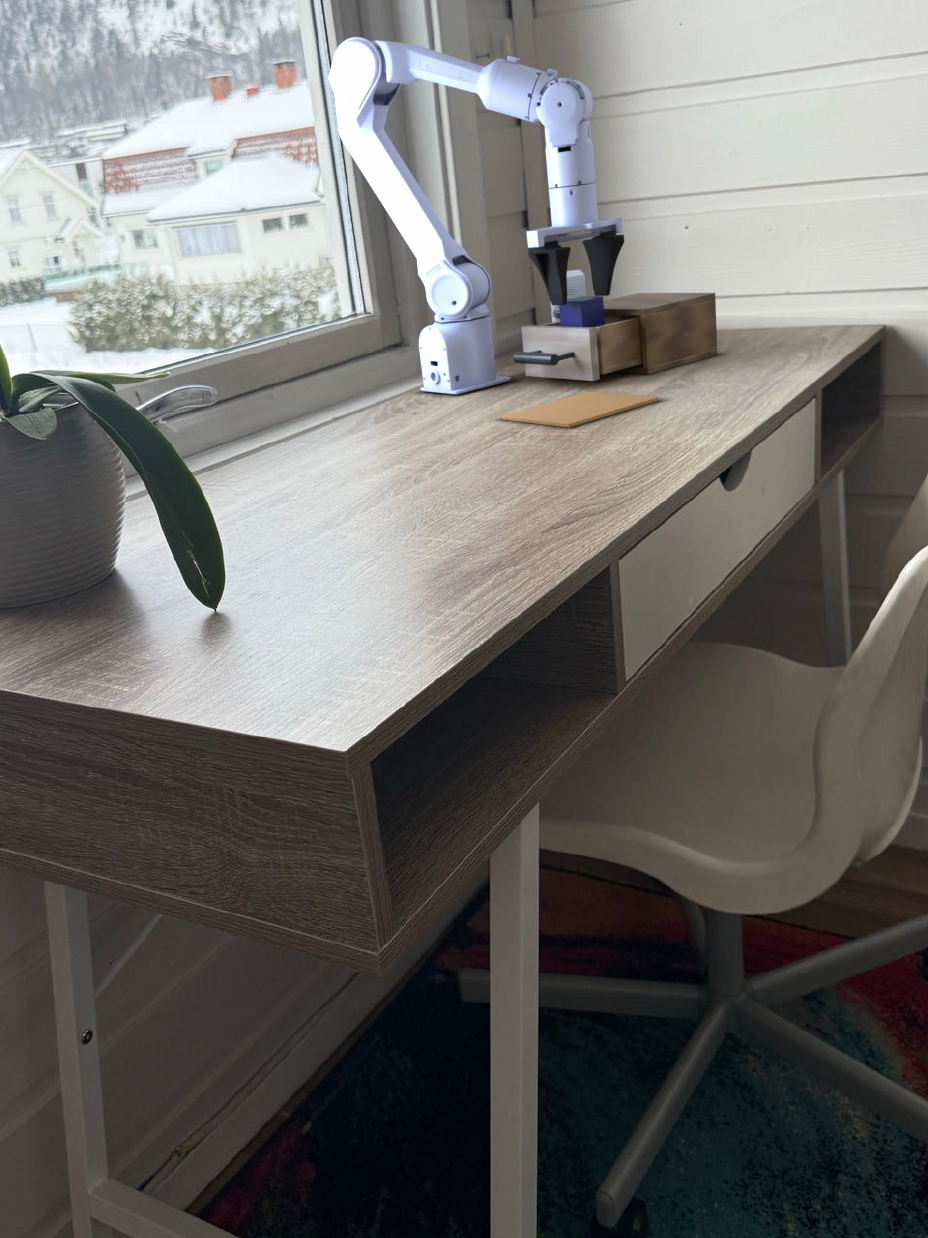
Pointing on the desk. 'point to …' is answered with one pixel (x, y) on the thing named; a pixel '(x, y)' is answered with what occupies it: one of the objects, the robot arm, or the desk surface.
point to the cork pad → (579, 409)
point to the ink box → (571, 290)
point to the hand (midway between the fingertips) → (581, 300)
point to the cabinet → (670, 327)
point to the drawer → (581, 348)
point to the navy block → (582, 312)
